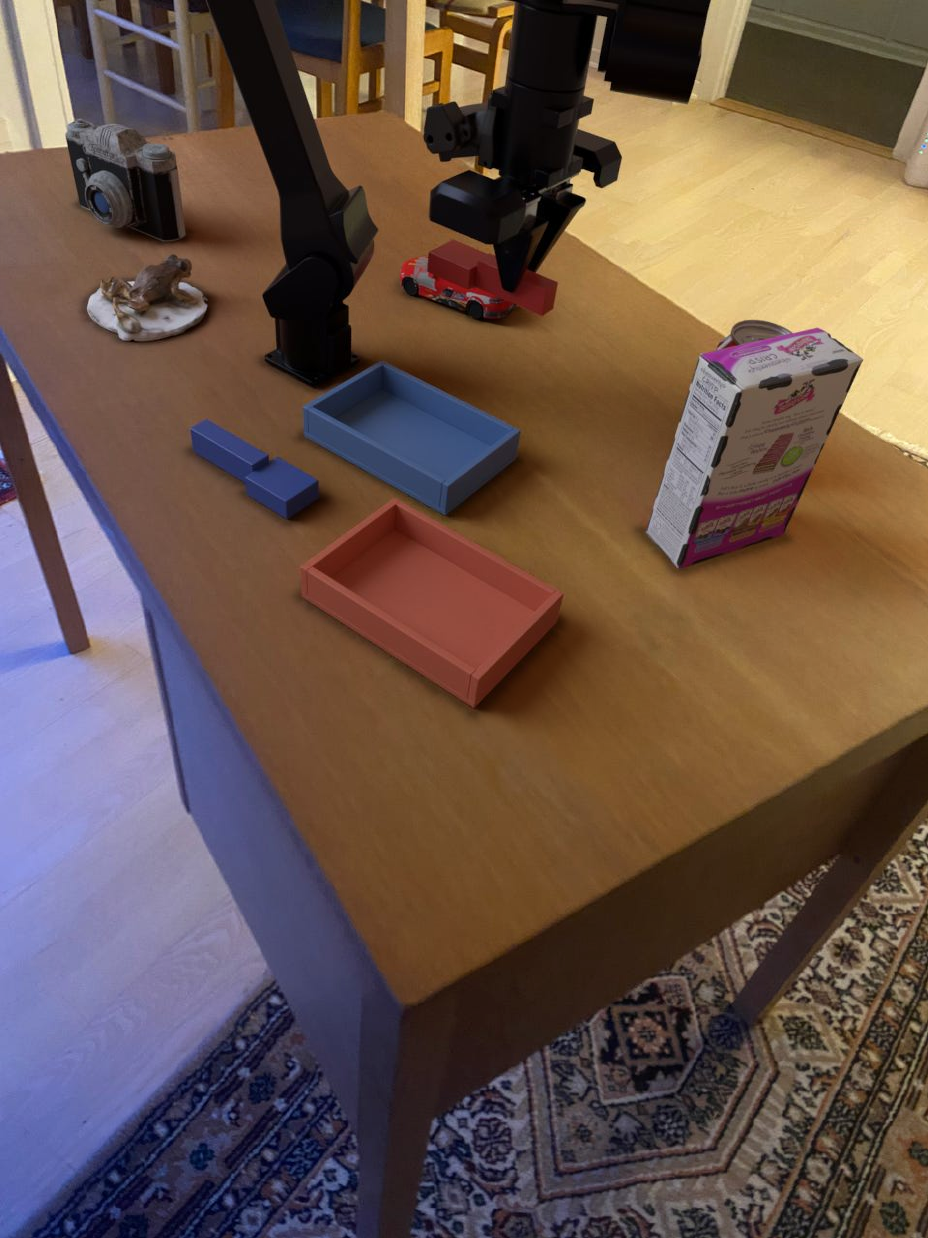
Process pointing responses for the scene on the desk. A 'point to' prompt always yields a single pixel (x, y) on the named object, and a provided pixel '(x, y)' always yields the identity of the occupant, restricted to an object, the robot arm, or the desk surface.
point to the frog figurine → (149, 302)
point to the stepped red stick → (490, 276)
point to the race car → (451, 291)
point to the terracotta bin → (432, 599)
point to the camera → (126, 179)
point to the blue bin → (411, 435)
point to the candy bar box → (748, 443)
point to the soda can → (752, 333)
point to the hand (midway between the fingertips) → (515, 286)
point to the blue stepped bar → (256, 470)
